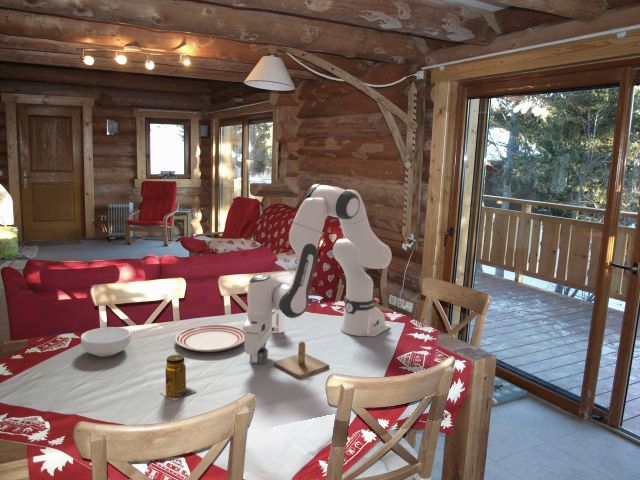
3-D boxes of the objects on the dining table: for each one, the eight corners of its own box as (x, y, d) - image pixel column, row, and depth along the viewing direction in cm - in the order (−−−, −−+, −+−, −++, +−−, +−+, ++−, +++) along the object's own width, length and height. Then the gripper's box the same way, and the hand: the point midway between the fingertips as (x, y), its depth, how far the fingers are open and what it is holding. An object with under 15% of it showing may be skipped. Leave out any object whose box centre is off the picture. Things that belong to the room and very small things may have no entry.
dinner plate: (160, 349, 202) (160, 340, 202) (202, 326, 227) (202, 319, 227) (223, 363, 192) (223, 354, 192) (259, 337, 217) (260, 330, 217)
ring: (260, 356, 199) (260, 345, 198) (271, 361, 194) (271, 351, 194) (246, 360, 195) (246, 350, 194) (256, 366, 190) (257, 355, 189)
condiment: (160, 393, 168) (159, 357, 166) (182, 384, 174) (182, 349, 172) (173, 401, 163) (173, 364, 161) (196, 392, 170) (196, 356, 167)
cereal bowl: (139, 353, 197) (138, 335, 196) (94, 366, 185) (93, 346, 184) (117, 340, 208) (116, 322, 207) (73, 351, 196) (72, 333, 195)
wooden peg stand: (303, 355, 201) (303, 331, 199) (329, 368, 191) (330, 343, 189) (273, 365, 192) (274, 340, 190) (299, 378, 182) (300, 352, 180)
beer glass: (282, 334, 221) (283, 299, 218) (265, 332, 222) (266, 297, 219) (286, 329, 228) (287, 294, 225) (270, 327, 229) (271, 293, 226)
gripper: (260, 310, 202) (259, 345, 205) (241, 328, 183) (240, 367, 185) (276, 312, 201) (275, 347, 204) (259, 330, 181) (258, 369, 184)
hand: (258, 356), depth 194 cm, fingers closed on ring, 6 cm apart
